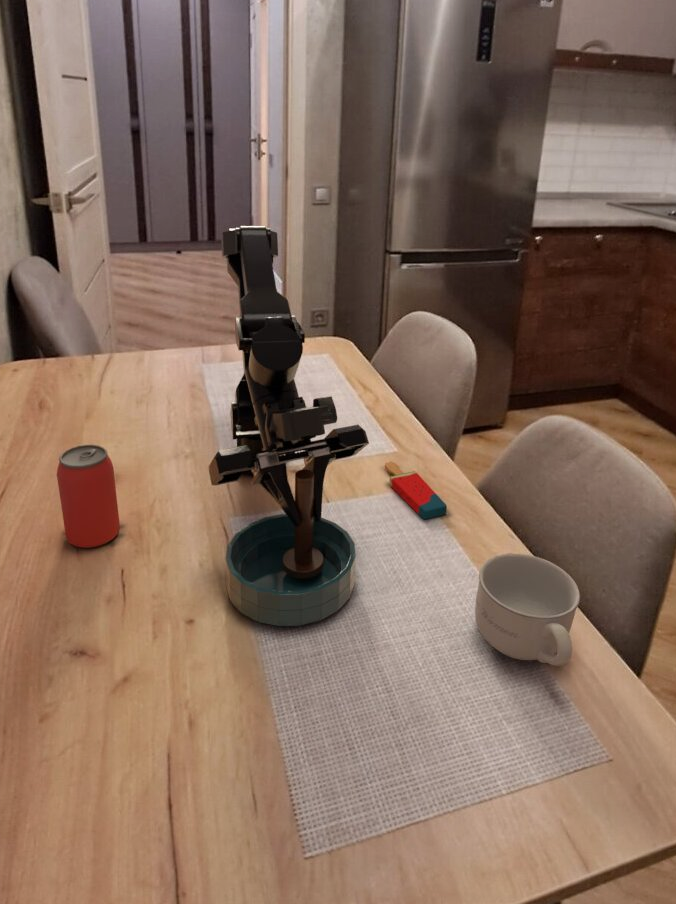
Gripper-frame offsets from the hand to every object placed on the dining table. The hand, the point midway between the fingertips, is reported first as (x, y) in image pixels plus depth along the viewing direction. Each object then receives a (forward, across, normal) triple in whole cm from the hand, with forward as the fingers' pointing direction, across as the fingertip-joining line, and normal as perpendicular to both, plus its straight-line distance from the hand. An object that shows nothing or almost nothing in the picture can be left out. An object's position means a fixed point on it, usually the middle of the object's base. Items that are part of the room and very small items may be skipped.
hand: (308, 523), depth 78 cm
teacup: (+20, +18, -8) cm, 28 cm away
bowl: (+6, -2, +7) cm, 9 cm away
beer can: (-8, -22, +21) cm, 31 cm away
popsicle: (-3, +22, +16) cm, 27 cm away
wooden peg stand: (+4, 0, +6) cm, 7 cm away
